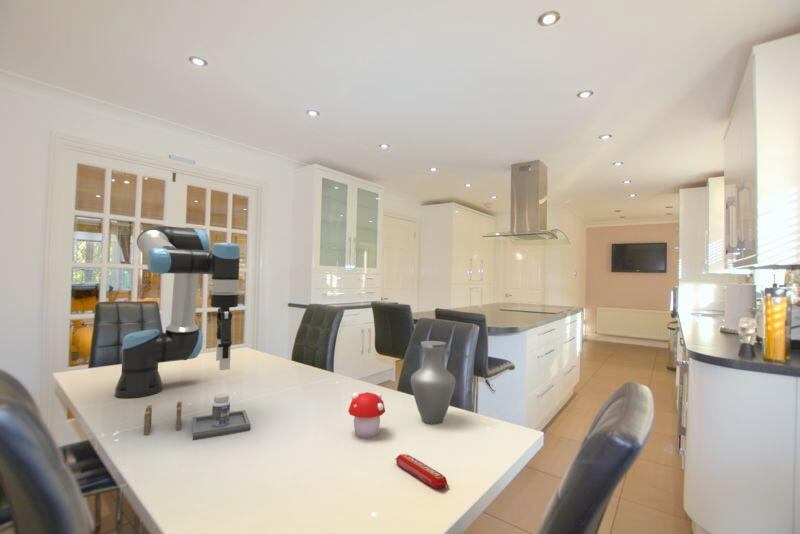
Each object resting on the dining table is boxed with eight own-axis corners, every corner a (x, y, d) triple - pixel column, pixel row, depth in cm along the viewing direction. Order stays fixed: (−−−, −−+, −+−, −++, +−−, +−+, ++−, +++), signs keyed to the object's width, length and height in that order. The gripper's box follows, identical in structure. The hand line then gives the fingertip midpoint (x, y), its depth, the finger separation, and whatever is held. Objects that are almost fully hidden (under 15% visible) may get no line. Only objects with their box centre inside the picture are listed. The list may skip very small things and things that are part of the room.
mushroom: (390, 429, 114) (391, 389, 115) (376, 444, 104) (377, 400, 105) (358, 424, 118) (359, 385, 118) (341, 438, 108) (342, 395, 108)
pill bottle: (222, 427, 111) (223, 398, 112) (208, 426, 112) (209, 397, 113) (232, 421, 116) (233, 393, 116) (219, 420, 117) (219, 392, 117)
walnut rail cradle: (146, 425, 114) (147, 405, 114) (181, 420, 119) (181, 401, 119) (143, 435, 107) (144, 414, 107) (180, 429, 112) (181, 409, 112)
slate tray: (192, 424, 116) (192, 417, 116) (244, 416, 123) (245, 409, 123) (192, 440, 105) (192, 432, 105) (250, 430, 112) (250, 423, 112)
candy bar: (450, 489, 83) (450, 475, 83) (438, 495, 81) (438, 480, 81) (404, 460, 96) (404, 448, 96) (392, 465, 93) (393, 452, 93)
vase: (460, 417, 126) (461, 341, 126) (447, 433, 113) (448, 348, 113) (419, 410, 132) (421, 337, 133) (402, 424, 119) (404, 343, 119)
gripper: (209, 292, 124) (207, 357, 124) (213, 296, 103) (210, 375, 102) (234, 292, 128) (232, 355, 127) (243, 296, 106) (241, 372, 106)
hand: (222, 364), depth 115 cm, fingers open, 13 cm apart
